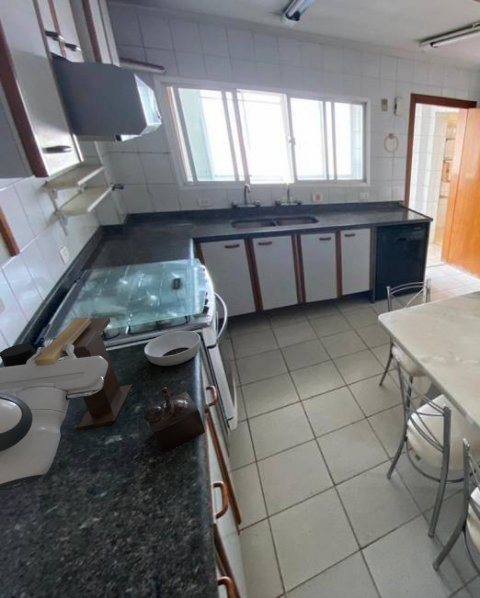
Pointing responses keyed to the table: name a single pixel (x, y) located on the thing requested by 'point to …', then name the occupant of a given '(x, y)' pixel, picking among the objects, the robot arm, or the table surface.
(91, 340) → the walnut stand
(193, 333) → the cereal bowl
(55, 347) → the wooden plank
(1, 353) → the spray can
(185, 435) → the dark brown boxy piece
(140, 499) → the table surface
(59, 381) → the robot arm
